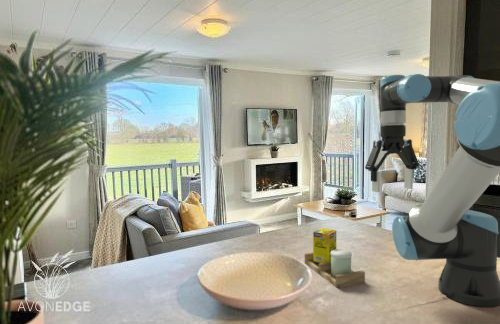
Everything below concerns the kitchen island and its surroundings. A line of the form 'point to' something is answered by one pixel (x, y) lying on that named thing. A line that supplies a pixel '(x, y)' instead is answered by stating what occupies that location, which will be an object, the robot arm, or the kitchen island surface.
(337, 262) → the pale green cylinder
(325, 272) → the caddy
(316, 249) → the supplement box
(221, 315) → the kitchen island surface
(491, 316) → the kitchen island surface
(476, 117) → the robot arm
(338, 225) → the kitchen island surface
